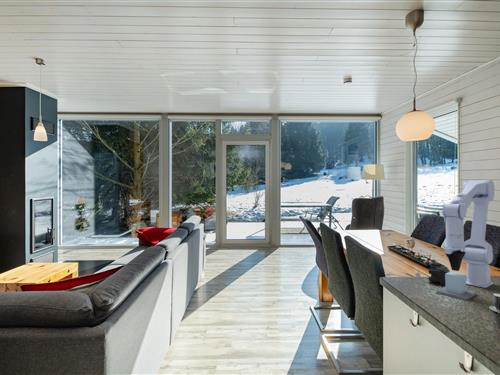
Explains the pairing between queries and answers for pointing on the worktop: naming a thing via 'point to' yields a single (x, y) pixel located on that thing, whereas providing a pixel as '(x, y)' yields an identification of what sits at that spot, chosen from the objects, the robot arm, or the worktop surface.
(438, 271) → the end cap
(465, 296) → the board
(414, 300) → the worktop surface
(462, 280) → the pale blue cube
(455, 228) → the robot arm
